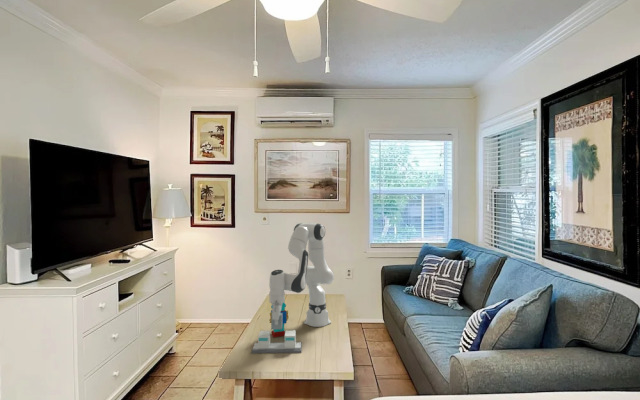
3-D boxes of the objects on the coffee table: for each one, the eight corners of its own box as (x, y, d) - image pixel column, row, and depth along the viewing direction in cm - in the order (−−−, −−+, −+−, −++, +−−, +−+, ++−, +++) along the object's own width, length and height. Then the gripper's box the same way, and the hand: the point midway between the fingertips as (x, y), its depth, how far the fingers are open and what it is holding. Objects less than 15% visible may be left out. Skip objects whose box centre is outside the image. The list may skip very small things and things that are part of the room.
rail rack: (254, 345, 213) (254, 330, 213) (301, 344, 214) (301, 329, 213) (251, 353, 202) (251, 337, 202) (301, 352, 203) (301, 336, 202)
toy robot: (286, 332, 233) (286, 293, 232) (288, 335, 227) (288, 296, 226) (268, 334, 228) (268, 295, 228) (270, 338, 223) (270, 298, 222)
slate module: (272, 326, 209) (272, 312, 209) (282, 326, 210) (282, 312, 210) (271, 329, 205) (271, 315, 205) (281, 329, 205) (281, 315, 205)
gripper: (281, 304, 197) (280, 329, 197) (283, 294, 217) (283, 316, 217) (269, 304, 197) (269, 329, 197) (273, 294, 217) (273, 316, 217)
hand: (276, 322), depth 207 cm, fingers closed on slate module, 4 cm apart
